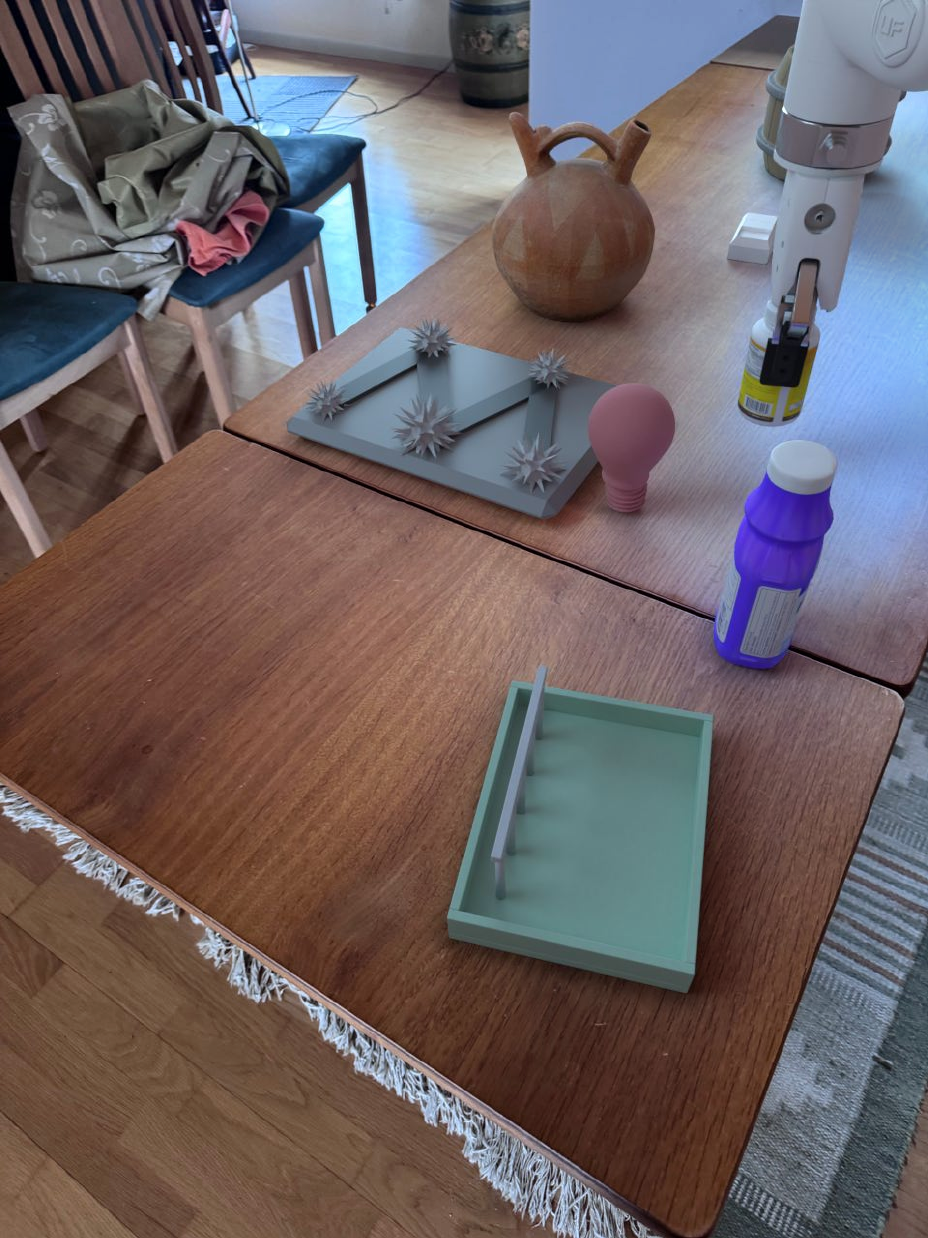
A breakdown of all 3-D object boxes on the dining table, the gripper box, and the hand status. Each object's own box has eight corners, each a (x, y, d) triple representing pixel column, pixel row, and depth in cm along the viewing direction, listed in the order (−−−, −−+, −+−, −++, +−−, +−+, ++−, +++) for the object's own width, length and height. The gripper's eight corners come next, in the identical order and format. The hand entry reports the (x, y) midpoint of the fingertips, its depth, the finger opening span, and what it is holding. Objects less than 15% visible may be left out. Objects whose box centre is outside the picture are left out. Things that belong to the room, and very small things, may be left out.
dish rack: (707, 738, 61) (726, 671, 56) (687, 994, 50) (709, 940, 44) (511, 704, 64) (512, 636, 59) (448, 938, 52) (442, 881, 47)
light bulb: (573, 523, 77) (581, 407, 69) (592, 475, 82) (601, 360, 73) (653, 538, 76) (672, 421, 67) (668, 488, 80) (687, 372, 71)
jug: (473, 327, 101) (468, 141, 87) (514, 258, 113) (515, 83, 98) (632, 346, 97) (654, 154, 83) (657, 273, 109) (680, 93, 94)
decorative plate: (645, 409, 89) (654, 345, 84) (550, 533, 77) (553, 468, 72) (400, 340, 100) (394, 280, 95) (282, 439, 88) (268, 376, 83)
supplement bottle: (794, 396, 81) (821, 289, 73) (804, 430, 77) (834, 321, 70) (732, 395, 81) (753, 289, 74) (739, 429, 78) (762, 320, 70)
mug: (726, 197, 124) (747, 76, 113) (765, 138, 138) (788, 26, 127) (865, 217, 118) (902, 92, 107) (891, 153, 132) (925, 37, 121)
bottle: (782, 684, 64) (850, 500, 52) (704, 667, 66) (752, 483, 53) (791, 615, 69) (855, 430, 56) (717, 600, 70) (764, 417, 58)
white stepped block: (779, 234, 115) (783, 214, 113) (766, 264, 109) (771, 243, 107) (741, 229, 116) (745, 209, 114) (726, 258, 111) (730, 237, 109)
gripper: (897, 184, 56) (827, 424, 69) (879, 101, 68) (821, 320, 81) (776, 179, 58) (729, 415, 71) (777, 98, 69) (737, 314, 82)
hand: (779, 363), depth 76 cm, fingers closed on supplement bottle, 5 cm apart
